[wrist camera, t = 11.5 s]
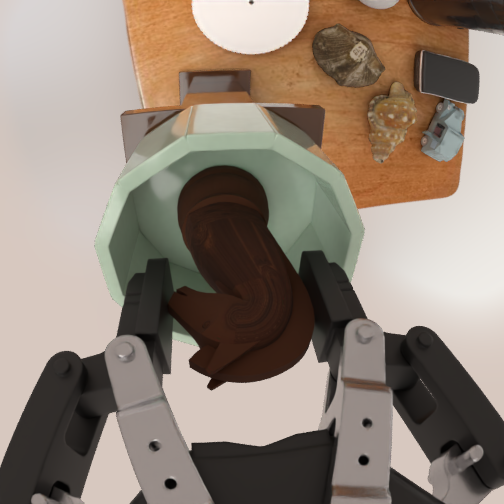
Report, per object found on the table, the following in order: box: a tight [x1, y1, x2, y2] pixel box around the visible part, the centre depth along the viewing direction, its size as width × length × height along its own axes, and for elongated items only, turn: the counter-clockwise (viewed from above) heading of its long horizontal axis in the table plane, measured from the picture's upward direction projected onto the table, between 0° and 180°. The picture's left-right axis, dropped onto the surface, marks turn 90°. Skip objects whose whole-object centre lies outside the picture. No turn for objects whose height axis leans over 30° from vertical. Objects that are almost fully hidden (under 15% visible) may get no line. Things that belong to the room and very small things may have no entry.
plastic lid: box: [192, 0, 309, 55], centre depth 30 cm, size 14×14×2 cm
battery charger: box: [414, 50, 479, 104], centre depth 37 cm, size 7×4×11 cm
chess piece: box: [167, 165, 315, 390], centre depth 13 cm, size 5×5×10 cm
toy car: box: [421, 99, 464, 162], centre depth 42 cm, size 6×10×5 cm, turn 162°
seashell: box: [367, 82, 417, 163], centre depth 40 cm, size 9×8×10 cm
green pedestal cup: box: [94, 69, 365, 347], centre depth 26 cm, size 11×11×34 cm
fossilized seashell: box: [312, 24, 385, 87], centre depth 35 cm, size 8×7×10 cm
